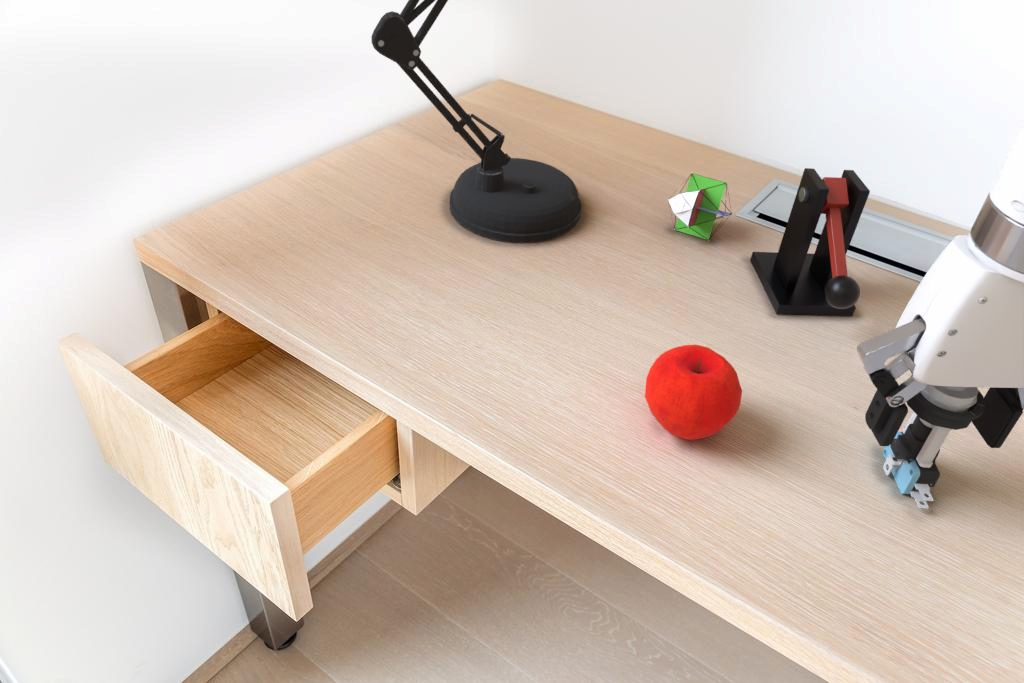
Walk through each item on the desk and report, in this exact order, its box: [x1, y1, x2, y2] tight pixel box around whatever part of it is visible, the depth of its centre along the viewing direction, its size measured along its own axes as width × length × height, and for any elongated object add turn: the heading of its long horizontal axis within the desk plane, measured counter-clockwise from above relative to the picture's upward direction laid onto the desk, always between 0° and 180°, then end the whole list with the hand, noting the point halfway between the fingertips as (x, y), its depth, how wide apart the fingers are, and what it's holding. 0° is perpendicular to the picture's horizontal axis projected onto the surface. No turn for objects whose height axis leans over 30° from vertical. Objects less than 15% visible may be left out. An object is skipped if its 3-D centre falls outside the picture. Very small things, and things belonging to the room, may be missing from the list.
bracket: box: [749, 167, 871, 317], centre depth 81 cm, size 10×8×13 cm
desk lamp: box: [371, 0, 582, 244], centre depth 81 cm, size 24×26×45 cm
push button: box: [882, 373, 986, 510], centre depth 61 cm, size 7×5×10 cm
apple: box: [644, 344, 743, 441], centre depth 65 cm, size 8×8×7 cm
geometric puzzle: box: [667, 172, 733, 242], centre depth 91 cm, size 7×7×8 cm
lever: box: [821, 176, 861, 309], centre depth 77 cm, size 13×3×3 cm
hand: (931, 433), depth 61 cm, fingers open, 8 cm apart
